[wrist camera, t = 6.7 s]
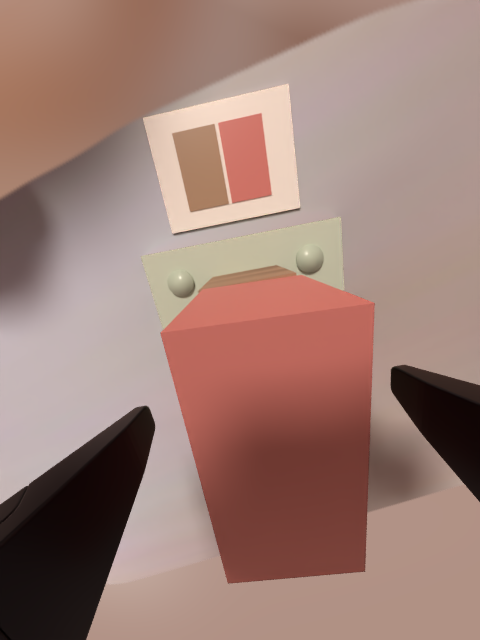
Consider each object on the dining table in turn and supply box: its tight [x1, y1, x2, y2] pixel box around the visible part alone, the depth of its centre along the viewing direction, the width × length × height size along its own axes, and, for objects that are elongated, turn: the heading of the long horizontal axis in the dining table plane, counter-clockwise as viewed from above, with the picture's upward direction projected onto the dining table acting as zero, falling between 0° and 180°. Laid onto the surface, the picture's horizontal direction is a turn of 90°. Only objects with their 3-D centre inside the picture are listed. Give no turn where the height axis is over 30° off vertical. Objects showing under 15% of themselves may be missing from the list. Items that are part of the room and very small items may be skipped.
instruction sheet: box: [143, 84, 300, 234], centre depth 13 cm, size 8×6×1 cm
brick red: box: [161, 275, 374, 583], centre depth 8 cm, size 8×4×5 cm, turn 8°
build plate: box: [141, 217, 344, 330], centre depth 15 cm, size 12×12×1 cm
